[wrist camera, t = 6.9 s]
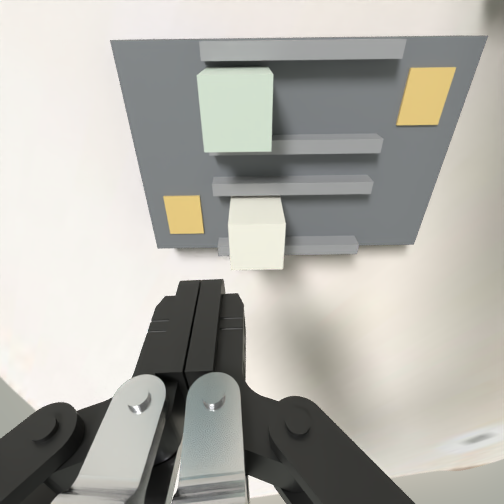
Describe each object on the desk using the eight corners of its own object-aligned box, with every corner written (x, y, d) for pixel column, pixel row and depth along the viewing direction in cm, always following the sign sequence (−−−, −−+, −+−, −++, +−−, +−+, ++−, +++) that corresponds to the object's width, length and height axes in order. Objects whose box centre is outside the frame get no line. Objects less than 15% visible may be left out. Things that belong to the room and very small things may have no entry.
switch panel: (125, 39, 22) (101, 40, 18) (461, 35, 22) (504, 35, 18) (164, 231, 31) (153, 258, 27) (400, 228, 31) (421, 253, 27)
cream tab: (231, 194, 25) (227, 224, 21) (279, 193, 25) (285, 224, 21) (233, 235, 28) (230, 270, 23) (277, 234, 28) (283, 269, 23)
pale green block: (206, 67, 20) (196, 75, 16) (268, 66, 20) (273, 74, 16) (211, 131, 22) (204, 152, 18) (266, 130, 22) (271, 151, 18)
